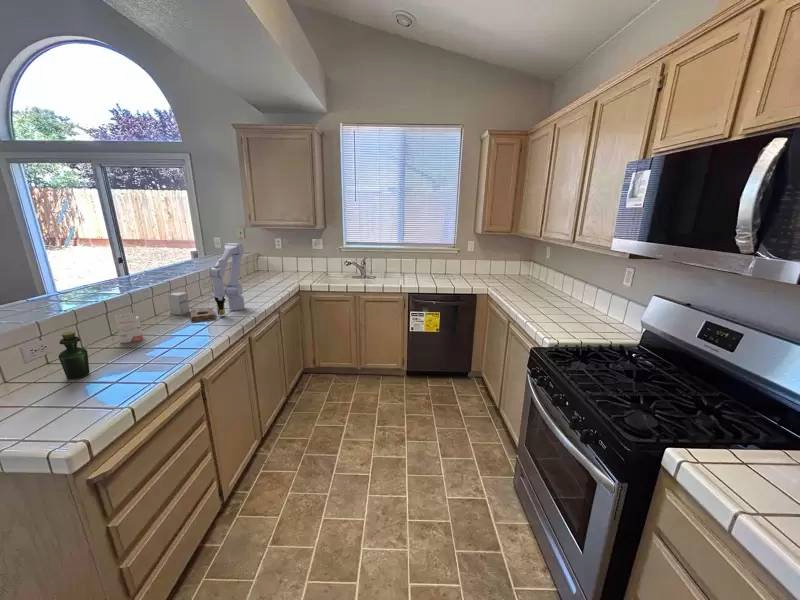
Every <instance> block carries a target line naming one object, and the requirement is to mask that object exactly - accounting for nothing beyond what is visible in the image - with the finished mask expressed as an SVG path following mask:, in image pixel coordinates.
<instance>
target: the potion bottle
mask: <svg viewBox="0 0 800 600" xmlns="http://www.w3.org/2000/svg"><path fill="white" fill-rule="evenodd" d="M61 337H62V338H61V339H60V340H59V344H60V345H64V347H65V349H64V350H62V351H61V352H60V353H59V354H58V357H57V358H58V359H59V362H60V364H61V367H62V370H63V372H64V374H65V378H66V379H68V380H79V379H82V378H85V377H87V376H88V375H89V374H90V364H89V355H88V354H89V353H88V350H87V349H86V348H85V347H79V346H78V343H79V342H80V341H81V338H80V337H79V336H77V335H76V332H75V331H66V332H62V333H61Z"/></svg>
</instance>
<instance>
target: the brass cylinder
mask: <svg viewBox="0 0 800 600" xmlns="http://www.w3.org/2000/svg"><path fill="white" fill-rule="evenodd" d="M216 309H217V316H218V315H219V316H224V315H225V314H226V310H225V309H226V308H225V307H224V308H223V310H219V308H218V304H217V303H216Z"/></svg>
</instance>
